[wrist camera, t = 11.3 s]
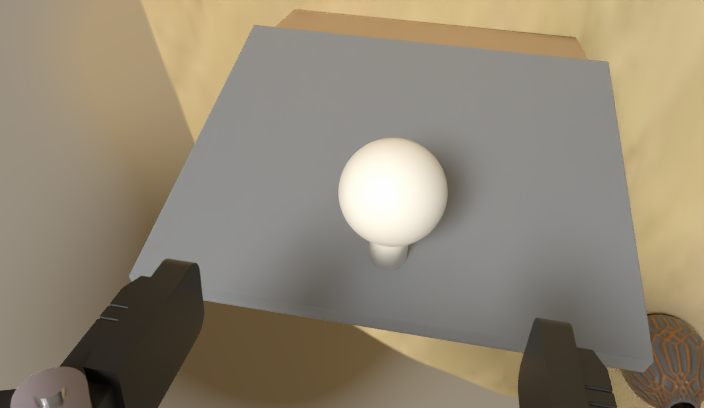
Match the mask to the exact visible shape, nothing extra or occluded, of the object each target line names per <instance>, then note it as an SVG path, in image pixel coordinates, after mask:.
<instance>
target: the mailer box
mask: <svg viewBox="0 0 704 408" xmlns="http://www.w3.org/2000/svg"><path fill="white" fill-rule="evenodd" d="M276 27H278V28H287V29H297V30H306V31H316V32H326V33H335V34H345V35H354V36H364V37H374V38H383V39H393V40H402V41H412V42H422V43H431V44H441V45H451V46H460V47H470V48H479V49H489V50H499V51H508V52H518V53H527V54H537V55H547V56H556V57H566V58H575V59H585V60H588V59H587V57H586V55H585V53H584V52H583V50H582V48H581V46H580V45H579V43H578V41H577V39H576V37H566V36H556V35H546V34H536V33H526V32H516V31H506V30H496V29H486V28H476V27H466V26H456V25H446V24H436V23H426V22H416V21H406V20H396V19H385V18H375V17H365V16H355V15H345V14H335V13H325V12H315V11H305V10H294V11H293V12H291V13H290V14H289V15H288V16H287V17H286V18H285V19H284V20H283V21H281V22H280V23H279V24H278V25H277V26H276Z"/></svg>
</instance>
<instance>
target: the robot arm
mask: <svg viewBox="0 0 704 408" xmlns="http://www.w3.org/2000/svg"><path fill="white" fill-rule="evenodd" d="M203 319H204V304H203V295H202V286H201V276H200V268H199V265H198V264H197V263H194V262H187V261H181V260H175V259H165V260H163V261H162V263H161V264H160V265H159V267H158V268H157V269H156V271H155V272H154V273H153V275H152V276H151V277H147V276H140V277H138V278H137V279H135V280H134V281H132V282H131V283H129V284H128V285H126V286H125V287H123V288H122V289H121V290H120V292H119V293H118V294H117V295H116V297H115V298H114V299H113V301H112V302H111V303H110V306H108V307H107V308H106V309H105V310H104V312H103V313H102V314H101V316H100V319H97V320H96V322H95V323H94V324H93V325H92V327H91V328H90V329H89V331H88V332H87V333H86V334H85V335H84V337H83V338H82V339H81V340H80V342H79V343H78V344H77V346H76V347H75V348H74V349H73V351H72V352H71V353H70V354H69V355H68V357H67V358H66V359H65V360H64V362H63V363H62V364H61V365H60V366H59V367H53V368H48V369H45V370H42V371H40V372H38V373H36V374H34V375H32V376H30V377H29V378H27V379H26V380H25V381H24V382H23V383H22V384H21V385H19V387H18V388H17V389H12V390H3V391H0V408H158V406H159V404H160V403H161V401H162V399H163V397H164V396H165V394H166V392H167V390H168V389H169V387H170V385H171V383H172V382H173V380H174V378H175V376H176V375H177V372H178V371H179V369H180V367H181V366H182V364H183V362H184V360H185V359H186V357H187V355H188V353H189V351H190V350H191V348H192V346H193V344H194V343H195V341H196V339H197V337H198V335H199V333H200V331H201V328H202V324H203ZM612 390H613V389H612V386H611V382H610V378H609V374H608V370H607V368H606V367H605V366H604V364H603V363H602V362H601V360H600V359H599V358H598V356H597V355H596V354H595V352H594V351H593V350H590V349H584V348H578V347H576V342H575V338H574V333H573V328H572V325H571V324H570V323H568V322H562V321H556V320H549V319H543V318H535V320H534V322H533V325H532V328H531V332H530V335H529V338H528V342H527V345H526V348H525V352H524V355H523V358H522V362H521V366H520V371H519V379H518V395H519V405H520V408H617V405H616V401H615V397H614V394H613V393H612Z"/></svg>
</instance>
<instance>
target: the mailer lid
mask: <svg viewBox="0 0 704 408" xmlns="http://www.w3.org/2000/svg"><path fill="white" fill-rule="evenodd" d="M165 259H175V260H181V261H187V262H194V263H197V264H198V265H199V268H200V276H201V286H202V295H203V300H206V301H212V302H218V303H224V304H230V305H236V306H242V307H248V308H254V309H260V310H266V311H272V312H278V313H284V314H291V315H297V316H303V317H309V318H315V319H321V320H327V321H333V322H339V323H345V324H351V325H357V326H363V327H369V328H376V329H382V330H388V331H394V332H400V333H406V334H412V335H418V336H424V337H430V338H436V339H442V340H449V341H455V342H461V343H467V344H473V345H479V346H485V347H491V348H497V349H503V350H509V351H515V352H522V353H524V352H525V348H526V345H527V342H528V338H529V335H530V332H531V328H532V325H533V322H534V320H535V318H543V319H549V320H556V321H562V322H568V323H570V324H571V325H572V328H573V333H574V338H575V342H576V347H578V348H584V349H590V350H593V351H594V352H595V354H596V355H597V356H598V358H599V359H600V360H601V362H602V363H603V364H604V366H607V367H613V368H619V369H625V370H631V371H637V372H644V371H645V370H646V369H647V368H648V367H649V366H650V365H651V364H652V363H653V362H654V359H653V352H652V346H651V339H650V333H649V326H648V320H647V313H646V306H645V300H644V293H643V287H642V280H641V274H640V267H639V260H638V254H637V247H636V241H635V234H634V228H633V221H632V214H631V208H630V201H629V195H628V188H627V182H626V175H625V168H624V162H623V155H622V149H621V142H620V136H619V129H618V122H617V116H616V109H615V103H614V96H613V90H612V83H611V77H610V70H609V63H608V62H604V61H595V60H585V59H575V58H566V57H556V56H547V55H537V54H527V53H518V52H508V51H499V50H489V49H479V48H470V47H460V46H451V45H441V44H431V43H422V42H412V41H402V40H393V39H383V38H374V37H364V36H354V35H345V34H335V33H326V32H316V31H306V30H297V29H287V28H278V27H268V26H258V25H254V27H253V29H252V31H251V33H250V35H249V37H248V39H247V41H246V43H245V45H244V47H243V49H242V51H241V53H240V55H239V57H238V59H237V61H236V63H235V65H234V67H233V69H232V71H231V73H230V75H229V77H228V79H227V81H226V83H225V85H224V87H223V89H222V91H221V93H220V95H219V97H218V99H217V101H216V103H215V105H214V107H213V109H212V111H211V113H210V115H209V117H208V119H207V121H206V123H205V125H204V127H203V129H202V131H201V133H200V135H199V137H198V139H197V141H196V143H195V145H194V147H193V149H192V151H191V153H190V155H189V157H188V159H187V161H186V163H185V165H184V167H183V169H182V171H181V173H180V175H179V177H178V179H177V181H176V183H175V185H174V187H173V189H172V191H171V193H170V195H169V197H168V199H167V201H166V203H165V205H164V207H163V209H162V211H161V213H160V215H159V217H158V219H157V221H156V223H155V225H154V227H153V229H152V231H151V233H150V235H149V237H148V239H147V241H146V243H145V245H144V247H143V249H142V251H141V253H140V255H139V257H138V259H137V261H136V263H135V265H134V267H133V269H132V271H131V273H130V275H129V278H130V279H131V281H134V280H135V279H137V278H138V277H140V276H147V277H151V276H152V275H153V273H154V272H155V271H156V269H157V268H158V267H159V265H160V264H161V263H162V261H163V260H165Z"/></svg>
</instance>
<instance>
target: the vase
mask: <svg viewBox="0 0 704 408" xmlns="http://www.w3.org/2000/svg"><path fill="white" fill-rule="evenodd" d="M647 320H648V326H649V333H650V339H651V346H652V352H653V359H654V362H653V363H652V364H651V365H650V366H649V367H648V368H647V369H646V370H645V371H644V372H637V371H631V370H625V369H621V371H622V374H623V376H624V378H625V380H626V382H627V383H628V385H629V386H630V388H631V389H632V390H633V391H634V392H635V394H636V395H637V396H639V397H640V398H641V399H642V400H643V401H645V402H646V403H648V404H650V405H652V406H654V407H656V408H700V407H701V403H702V402H703V400H704V341H703V340H702V338H701V337H700V336H699V335H698V333H697V332H696V331H695V330H694V329H693V328H691V327H690V326H689V325H688V324H686V323H685V322H683V321H681V320H679V319H677V318H674V317H671V316H667V315H648V316H647Z"/></svg>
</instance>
